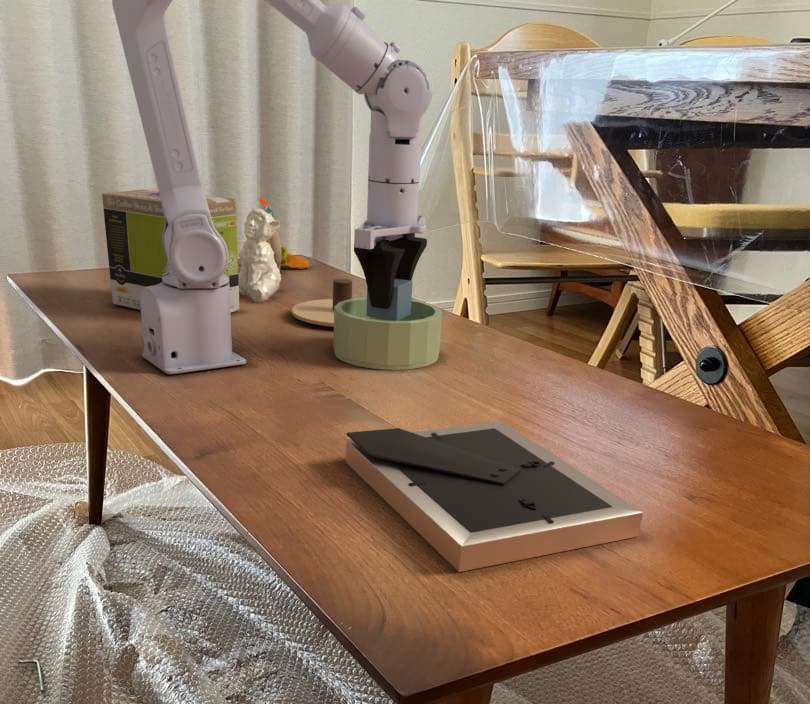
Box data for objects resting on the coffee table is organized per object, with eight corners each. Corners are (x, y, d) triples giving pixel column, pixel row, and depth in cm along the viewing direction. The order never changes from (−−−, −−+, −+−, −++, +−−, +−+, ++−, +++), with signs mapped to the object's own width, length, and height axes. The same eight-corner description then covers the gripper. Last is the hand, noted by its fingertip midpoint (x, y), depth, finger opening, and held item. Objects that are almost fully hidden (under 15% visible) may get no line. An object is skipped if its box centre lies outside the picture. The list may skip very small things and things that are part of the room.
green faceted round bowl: (371, 375, 103) (372, 327, 100) (315, 347, 112) (315, 302, 109) (459, 361, 109) (462, 315, 107) (399, 335, 118) (401, 293, 116)
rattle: (311, 275, 149) (311, 201, 143) (260, 274, 147) (258, 199, 142) (309, 266, 155) (309, 195, 150) (260, 265, 154) (258, 193, 149)
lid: (324, 336, 116) (324, 296, 114) (274, 312, 126) (273, 274, 124) (411, 325, 124) (413, 287, 121) (357, 303, 133) (358, 267, 131)
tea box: (242, 311, 126) (238, 197, 119) (190, 324, 118) (183, 204, 111) (163, 293, 133) (155, 185, 126) (109, 305, 125) (98, 190, 118)
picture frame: (345, 462, 80) (458, 572, 64) (346, 432, 79) (462, 536, 62) (499, 441, 86) (638, 536, 70) (502, 413, 85) (644, 503, 69)
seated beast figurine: (211, 292, 135) (207, 206, 129) (251, 283, 141) (249, 201, 136) (258, 303, 130) (256, 215, 125) (298, 294, 136) (298, 209, 131)
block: (396, 321, 106) (398, 286, 104) (366, 316, 108) (367, 282, 106) (411, 314, 109) (412, 280, 108) (381, 309, 111) (382, 276, 109)
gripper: (398, 190, 94) (392, 321, 100) (451, 179, 106) (443, 297, 112) (338, 183, 97) (336, 311, 103) (397, 173, 108) (392, 289, 115)
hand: (388, 303), depth 108 cm, fingers closed on block, 4 cm apart
